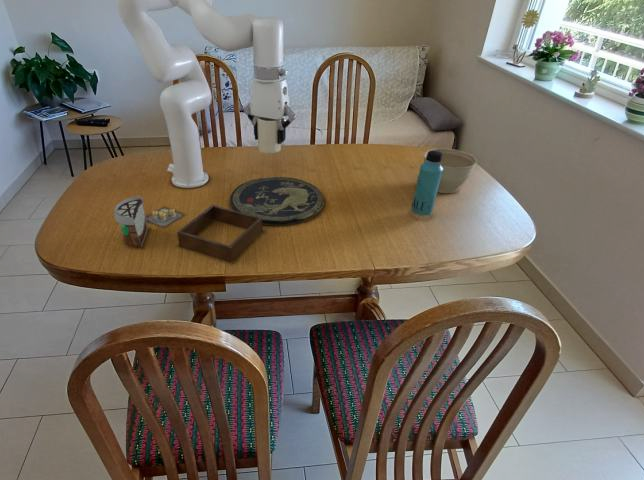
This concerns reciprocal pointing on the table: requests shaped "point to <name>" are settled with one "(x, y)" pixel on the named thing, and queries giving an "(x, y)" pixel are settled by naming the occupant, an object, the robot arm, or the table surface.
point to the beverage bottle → (427, 184)
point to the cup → (267, 135)
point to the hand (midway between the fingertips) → (269, 139)
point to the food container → (132, 220)
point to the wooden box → (215, 248)
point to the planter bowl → (454, 169)
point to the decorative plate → (278, 200)
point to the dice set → (163, 217)
